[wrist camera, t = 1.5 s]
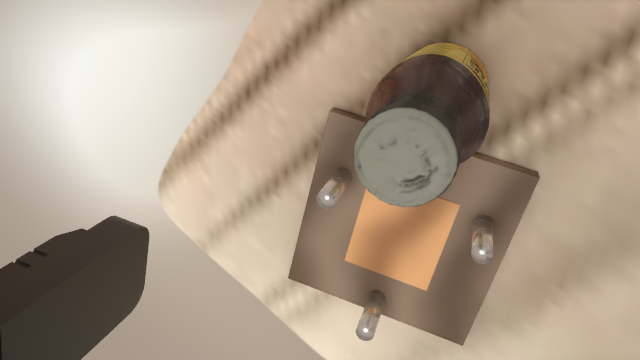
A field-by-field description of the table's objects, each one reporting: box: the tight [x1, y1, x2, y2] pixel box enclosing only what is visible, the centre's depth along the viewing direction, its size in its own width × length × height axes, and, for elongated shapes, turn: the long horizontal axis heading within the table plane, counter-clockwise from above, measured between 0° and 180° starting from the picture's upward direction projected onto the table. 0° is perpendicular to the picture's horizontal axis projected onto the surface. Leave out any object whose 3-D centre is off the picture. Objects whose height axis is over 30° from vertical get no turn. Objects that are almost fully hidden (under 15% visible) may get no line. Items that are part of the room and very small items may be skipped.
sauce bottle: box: [354, 43, 490, 207], centre depth 28 cm, size 6×6×20 cm
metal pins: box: [316, 167, 493, 341], centre depth 39 cm, size 13×11×5 cm
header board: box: [288, 108, 539, 346], centre depth 42 cm, size 16×16×1 cm
